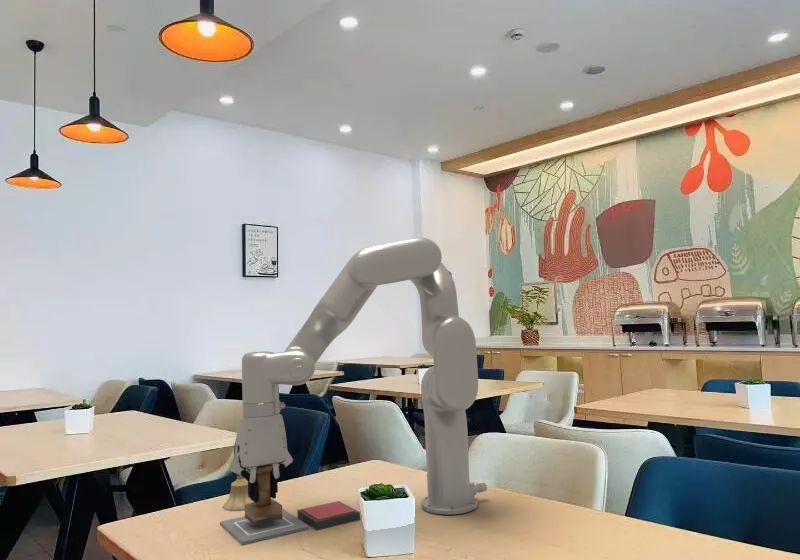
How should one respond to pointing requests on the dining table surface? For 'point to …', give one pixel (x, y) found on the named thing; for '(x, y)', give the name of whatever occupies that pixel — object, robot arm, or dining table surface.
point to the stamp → (263, 500)
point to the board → (262, 528)
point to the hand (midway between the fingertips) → (263, 497)
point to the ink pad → (328, 515)
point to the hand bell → (238, 493)
